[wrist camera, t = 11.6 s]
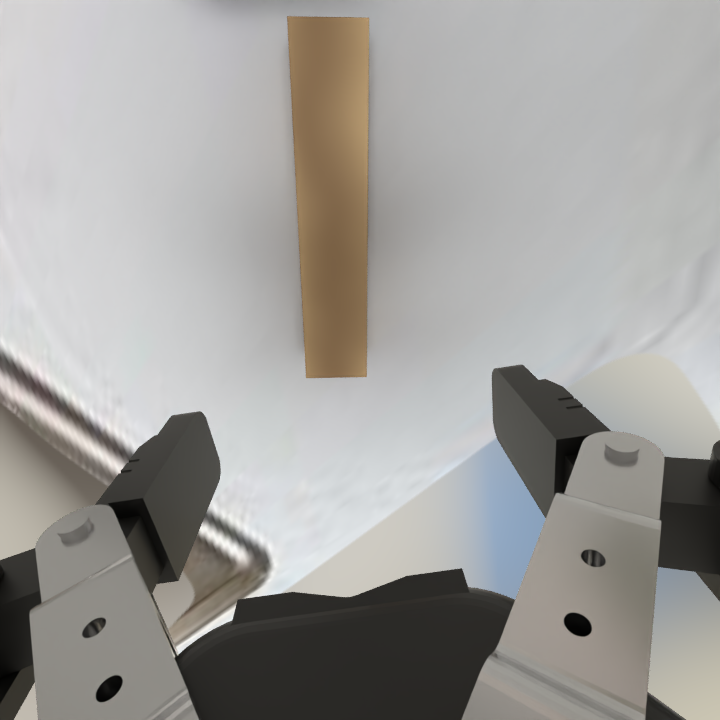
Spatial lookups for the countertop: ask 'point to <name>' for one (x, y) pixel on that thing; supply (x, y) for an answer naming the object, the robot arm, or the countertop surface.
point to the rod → (332, 188)
